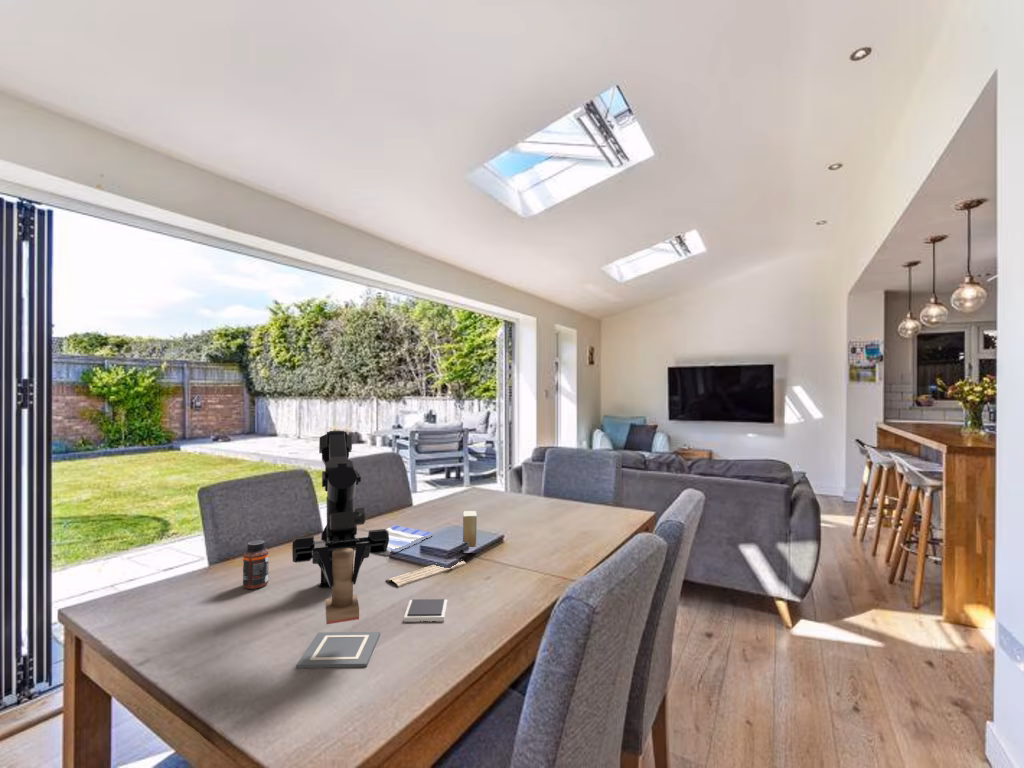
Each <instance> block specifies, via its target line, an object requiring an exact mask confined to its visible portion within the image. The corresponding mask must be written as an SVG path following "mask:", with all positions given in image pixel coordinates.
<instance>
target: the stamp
mask: <svg viewBox="0 0 1024 768" xmlns="http://www.w3.org/2000/svg"><path fill="white" fill-rule="evenodd" d="M353 554H354V555H355V549H354V550H353V549H351V548H339V549H336V550H334V551H333V552H332V588H331V598H330V597H329V598H326V599H325V621H326V625H330V624H338V623H345V622H350V621H355V620H360V606H359V600H358V596H357V594H354V585H353V571H354V558H353Z"/></svg>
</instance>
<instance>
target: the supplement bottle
mask: <svg viewBox="0 0 1024 768" xmlns="http://www.w3.org/2000/svg"><path fill="white" fill-rule="evenodd" d="M265 544H266V543H265V540H261V539H260V540H258V539H257V540H251V541H249V542H248V543H247V550H246V551H244V553H243V555H242V558H243V559H242V586H243V588H244V589H246V590H257V589H260V588H263V587H265V586H266V585H268V583H269V558H270V557H269V553H270V552H269V550H268V548H266V547H265V546H266V545H265Z"/></svg>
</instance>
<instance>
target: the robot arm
mask: <svg viewBox="0 0 1024 768" xmlns="http://www.w3.org/2000/svg"><path fill="white" fill-rule="evenodd" d="M352 437H353V436H352V435H350V434H348V432H347V431H345V430H329V431H327V432H326V434H324V435H321V436H319V440H318V441H319V445H318V446H319V447H318V450H319V454H321V461H322V463H323V464H324V466H325V467H324V470H322V471H321V487H322V488H323V487H324V491H325V492H326V493H327V494H326V525H325V526H324V528H323V531H322V532H321V536H320V540H314V539H315V538H314V537H315V536H314V535H309V536H301V537H300V536H299V537H296V536H295V538H294V539H293V540H292V545H291V547H292V548H291V549H292V550H291V551H292V552H291V553H292V562H293V563H303V562H309V561H311V560H312V561H311V562H312V564H313V565H314V564H315V565H318V567H319V568H320V583H319V584H318V586H317V587H318V588H320V589H321V588H331V589H332V552H333V551H334V550H336V549H339V548H351V549H353V550H354V554H353V586H354V585H356V583H357V579H358V576H359V572H360V568H361V567H362V564H363V562H364V560H365V559H367V558H370V554H371V555H373V554H379V553H384V552H386V551H387V547H388V542H389V533H388V531H387V530H386V529H387V528H384V529H383V528H382V529H381V528H380V529H373V530H372V529H371V530H368V535H367V536H368V537H367V536H365V537H357V536H356V535H358V530H357V529H358V528H357V527H358V525H365V522H366V513H365V507H356V508H355V502H354V500H355V499H354V498H355V496H356V487H357V486H358V485H359V483H362V482H361V481H362V476H361V475H360V473H359V472H358V470H357V469H355V466H354V465H355V464H354V461H352V460H351V459H349V457H350V453H351V452H352V451H353V450H352V449H353V438H352ZM355 548H356V549H355Z"/></svg>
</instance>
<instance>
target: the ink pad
mask: <svg viewBox="0 0 1024 768" xmlns="http://www.w3.org/2000/svg"><path fill="white" fill-rule="evenodd" d="M447 607H448V599H444V598H441V599H440V598H439V599H436V598H431V599H429V598H428V599H427V598H426V599H425V598H423V599H410V600H409V601H408V604H407V608H406V611H405V613H404V617H403V623H407V622H408V623H412V622H416V623H417V622H418V623H420V621H421V623H422V622H423V621H428V622H429V621H430V622H432V621H436V622H445V618H446V613H447ZM423 623H424V622H423Z"/></svg>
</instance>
